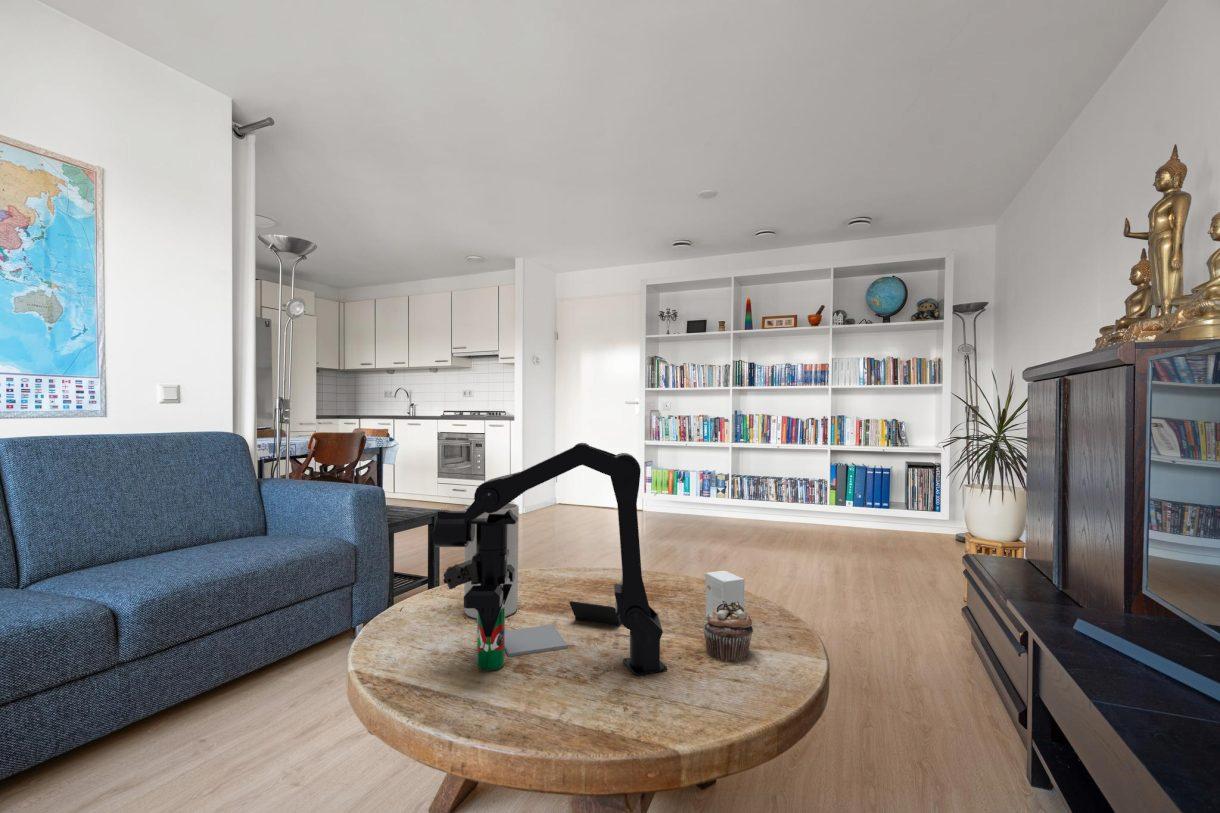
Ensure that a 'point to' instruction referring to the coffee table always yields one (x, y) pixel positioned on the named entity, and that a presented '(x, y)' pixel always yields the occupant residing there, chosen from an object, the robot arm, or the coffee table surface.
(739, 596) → the small box
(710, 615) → the cupcake
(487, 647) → the soda can
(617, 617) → the handheld gaming console
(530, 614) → the coffee table surface
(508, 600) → the cylinder vase
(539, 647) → the slate mat
